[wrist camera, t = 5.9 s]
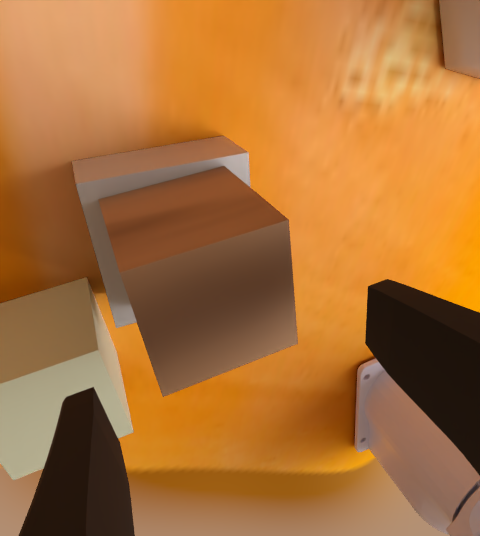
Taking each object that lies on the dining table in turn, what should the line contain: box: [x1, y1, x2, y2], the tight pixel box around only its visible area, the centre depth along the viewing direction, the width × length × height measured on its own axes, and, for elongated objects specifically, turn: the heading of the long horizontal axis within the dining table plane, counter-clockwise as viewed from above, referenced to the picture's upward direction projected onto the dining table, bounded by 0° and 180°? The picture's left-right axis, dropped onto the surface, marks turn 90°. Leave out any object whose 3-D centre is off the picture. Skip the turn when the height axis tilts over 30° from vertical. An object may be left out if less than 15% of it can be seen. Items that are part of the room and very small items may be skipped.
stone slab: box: [72, 136, 250, 328], centre depth 17 cm, size 6×6×3 cm
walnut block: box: [98, 166, 298, 397], centre depth 14 cm, size 4×4×5 cm
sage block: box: [0, 277, 134, 480], centre depth 17 cm, size 4×4×5 cm
